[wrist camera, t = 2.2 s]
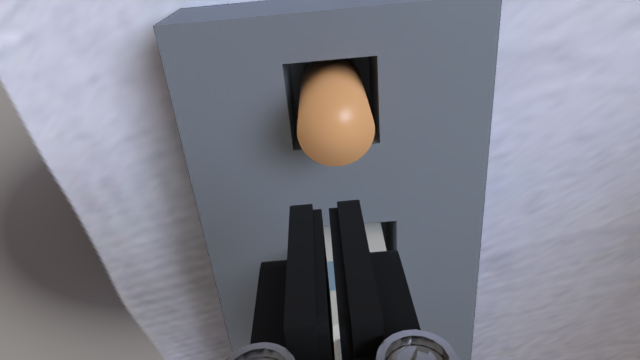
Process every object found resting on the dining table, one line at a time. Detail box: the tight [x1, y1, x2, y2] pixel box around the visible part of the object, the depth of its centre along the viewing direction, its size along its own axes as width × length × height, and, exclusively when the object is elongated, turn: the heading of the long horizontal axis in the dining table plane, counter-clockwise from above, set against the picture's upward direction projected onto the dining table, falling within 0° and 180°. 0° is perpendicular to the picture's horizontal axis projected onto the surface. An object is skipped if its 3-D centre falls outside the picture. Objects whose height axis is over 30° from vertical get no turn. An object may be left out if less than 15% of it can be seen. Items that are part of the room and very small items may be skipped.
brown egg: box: [297, 58, 375, 167], centre depth 21 cm, size 3×3×6 cm
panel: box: [153, 0, 502, 360], centre depth 28 cm, size 14×28×4 cm, turn 5°
